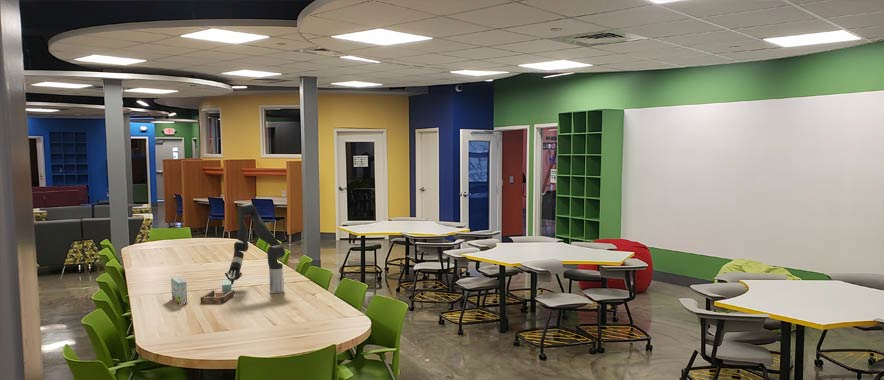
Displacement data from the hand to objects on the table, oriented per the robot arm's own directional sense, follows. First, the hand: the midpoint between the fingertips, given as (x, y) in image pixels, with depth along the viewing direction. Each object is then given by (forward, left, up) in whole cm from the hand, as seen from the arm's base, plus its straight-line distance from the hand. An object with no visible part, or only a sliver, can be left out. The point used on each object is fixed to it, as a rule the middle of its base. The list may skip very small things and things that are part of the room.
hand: (230, 284), depth 437 cm
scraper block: (0, +8, -5) cm, 10 cm away
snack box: (+24, +30, -5) cm, 39 cm away
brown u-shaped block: (0, +25, -5) cm, 26 cm away
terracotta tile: (0, +19, -5) cm, 20 cm away
